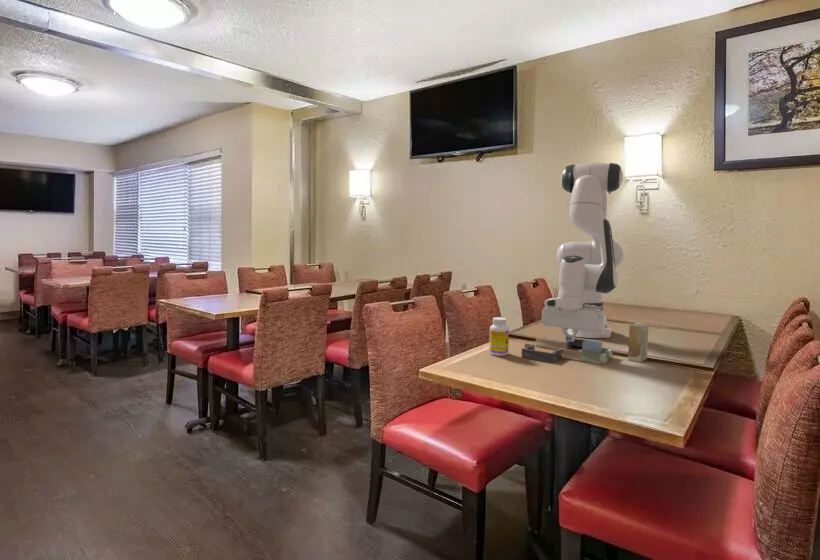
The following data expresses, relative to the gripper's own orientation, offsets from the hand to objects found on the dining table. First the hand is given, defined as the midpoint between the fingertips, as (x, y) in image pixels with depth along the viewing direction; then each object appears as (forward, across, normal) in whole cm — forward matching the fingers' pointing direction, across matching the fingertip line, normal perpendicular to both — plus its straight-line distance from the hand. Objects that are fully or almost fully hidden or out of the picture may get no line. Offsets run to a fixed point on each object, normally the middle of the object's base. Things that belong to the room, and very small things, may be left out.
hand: (569, 340), depth 170 cm
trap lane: (+5, +1, +1) cm, 5 cm away
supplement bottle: (+5, +20, +15) cm, 25 cm away
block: (+5, -8, +1) cm, 10 cm away
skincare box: (+5, -21, -7) cm, 23 cm away
